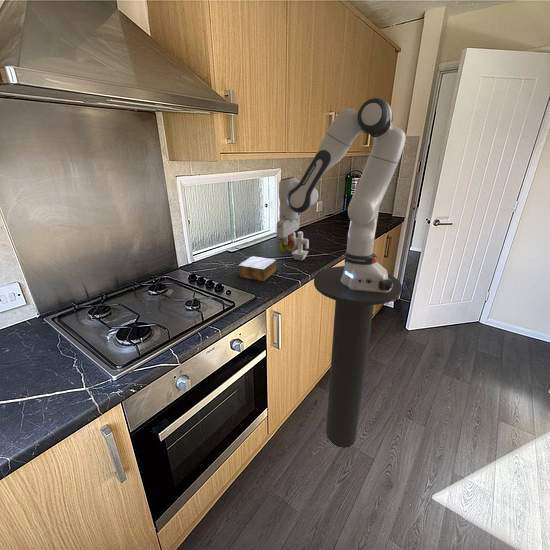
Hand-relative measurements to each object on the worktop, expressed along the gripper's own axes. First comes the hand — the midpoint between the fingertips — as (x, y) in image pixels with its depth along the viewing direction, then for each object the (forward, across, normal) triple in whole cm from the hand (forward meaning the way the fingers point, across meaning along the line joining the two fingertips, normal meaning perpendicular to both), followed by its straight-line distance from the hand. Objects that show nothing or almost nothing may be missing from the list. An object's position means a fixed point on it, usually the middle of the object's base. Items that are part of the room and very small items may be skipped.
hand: (288, 242), depth 141 cm
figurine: (+14, +17, +1) cm, 22 cm away
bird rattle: (+4, 0, 0) cm, 4 cm away
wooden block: (+14, -11, +12) cm, 21 cm away
